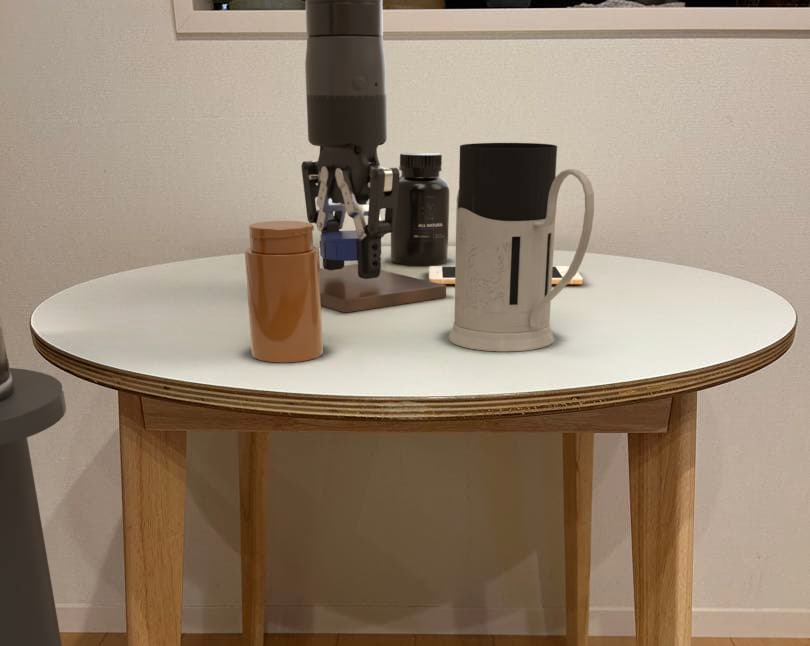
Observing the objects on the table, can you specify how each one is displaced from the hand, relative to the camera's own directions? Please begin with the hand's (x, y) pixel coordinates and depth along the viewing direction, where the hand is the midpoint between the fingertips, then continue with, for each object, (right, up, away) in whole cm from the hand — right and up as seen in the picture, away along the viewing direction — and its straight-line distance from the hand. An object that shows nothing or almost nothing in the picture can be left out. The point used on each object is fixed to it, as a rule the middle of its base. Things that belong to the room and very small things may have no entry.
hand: (350, 272), depth 102 cm
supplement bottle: (+7, +6, +18) cm, 20 cm away
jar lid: (0, +3, -1) cm, 3 cm away
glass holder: (+15, -11, -20) cm, 27 cm away
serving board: (0, -2, +1) cm, 2 cm away
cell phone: (+16, +1, +7) cm, 18 cm away
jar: (-4, -12, -22) cm, 26 cm away
